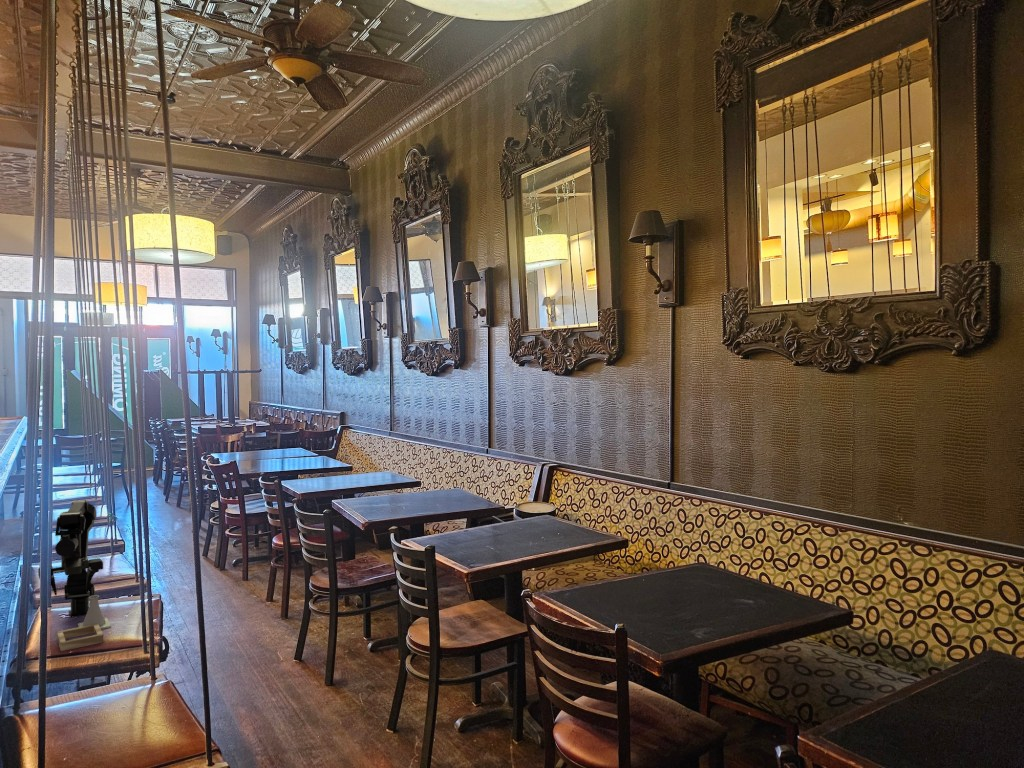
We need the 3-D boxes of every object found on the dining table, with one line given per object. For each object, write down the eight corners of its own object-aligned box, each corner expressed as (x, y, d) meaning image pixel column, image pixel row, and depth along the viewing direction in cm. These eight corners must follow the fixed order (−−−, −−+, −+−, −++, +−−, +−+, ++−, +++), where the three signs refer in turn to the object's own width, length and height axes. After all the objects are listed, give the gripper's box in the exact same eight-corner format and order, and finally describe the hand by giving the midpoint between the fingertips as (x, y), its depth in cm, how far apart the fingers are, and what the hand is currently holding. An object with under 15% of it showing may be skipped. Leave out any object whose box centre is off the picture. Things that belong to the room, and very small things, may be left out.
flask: (102, 627, 240) (102, 599, 239) (79, 629, 238) (78, 601, 237) (108, 619, 247) (108, 592, 246) (86, 621, 245) (85, 593, 244)
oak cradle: (57, 638, 231) (56, 631, 231) (98, 630, 238) (98, 623, 238) (60, 651, 222) (60, 643, 222) (103, 642, 229) (103, 634, 229)
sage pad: (77, 625, 243) (77, 623, 243) (106, 619, 248) (106, 617, 248) (81, 633, 236) (81, 631, 236) (111, 627, 241) (110, 625, 241)
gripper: (40, 558, 226) (41, 604, 227) (105, 549, 238) (105, 593, 239) (37, 550, 235) (38, 595, 236) (100, 542, 247) (100, 584, 247)
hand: (71, 592), depth 239 cm, fingers open, 9 cm apart
